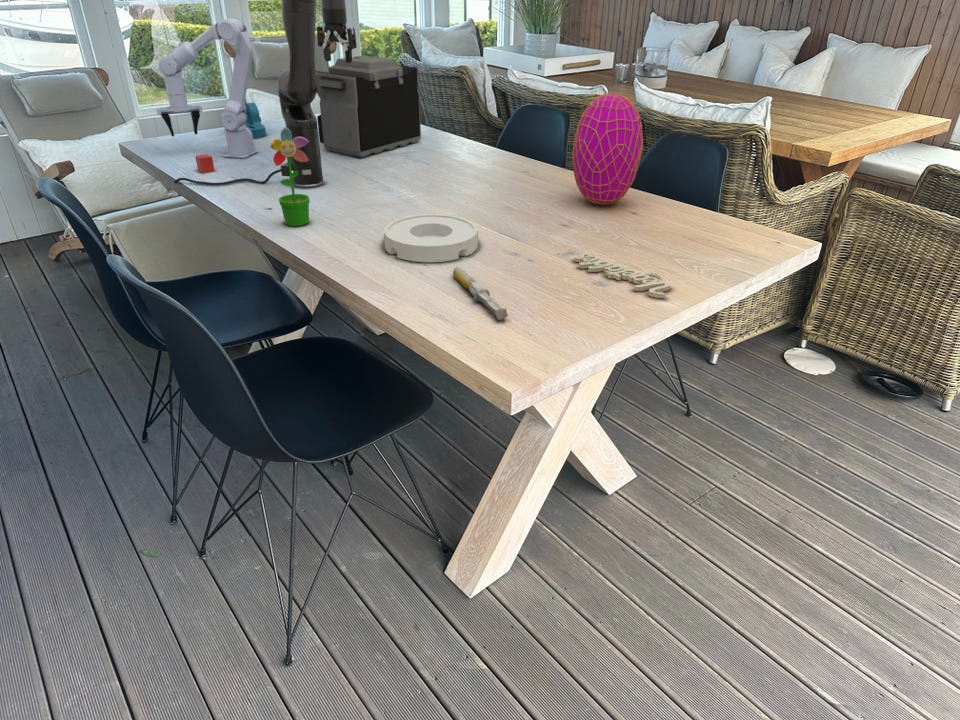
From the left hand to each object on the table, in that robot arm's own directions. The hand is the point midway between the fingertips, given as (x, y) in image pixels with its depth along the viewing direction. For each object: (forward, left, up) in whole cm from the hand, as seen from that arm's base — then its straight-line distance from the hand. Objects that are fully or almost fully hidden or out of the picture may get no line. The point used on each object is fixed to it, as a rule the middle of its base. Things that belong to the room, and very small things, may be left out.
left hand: (184, 134), depth 241 cm
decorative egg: (+18, +148, -7) cm, 149 cm away
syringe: (+90, +128, -7) cm, 156 cm away
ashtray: (+63, +110, -7) cm, 127 cm away
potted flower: (+57, +70, -7) cm, 91 cm away
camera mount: (-35, +4, -7) cm, 36 cm away
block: (+17, +18, -7) cm, 26 cm away
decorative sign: (+70, +157, -7) cm, 172 cm away
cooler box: (-29, +58, -7) cm, 65 cm away
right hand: (-11, +56, +25) cm, 62 cm away
